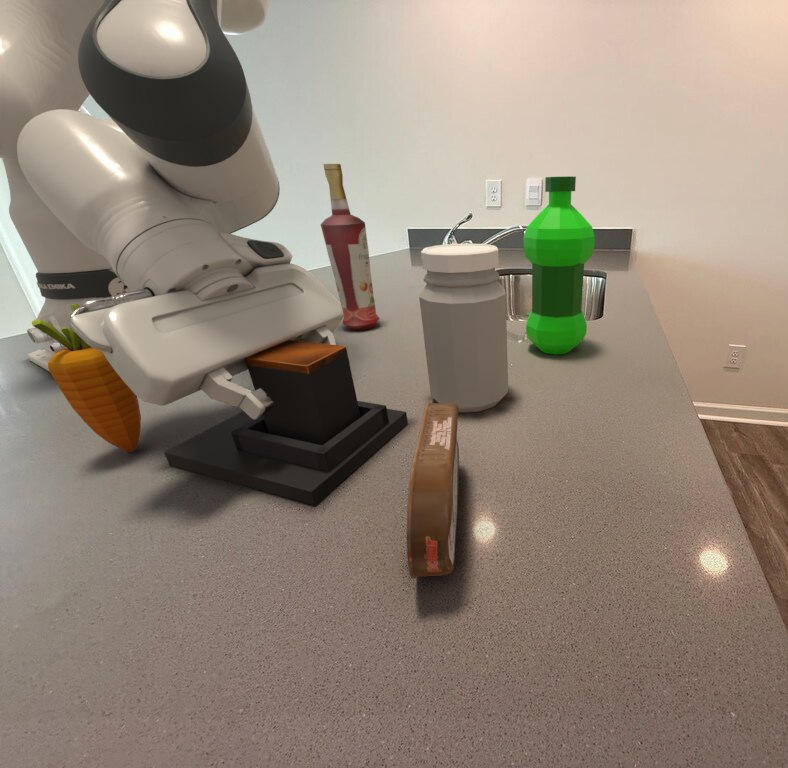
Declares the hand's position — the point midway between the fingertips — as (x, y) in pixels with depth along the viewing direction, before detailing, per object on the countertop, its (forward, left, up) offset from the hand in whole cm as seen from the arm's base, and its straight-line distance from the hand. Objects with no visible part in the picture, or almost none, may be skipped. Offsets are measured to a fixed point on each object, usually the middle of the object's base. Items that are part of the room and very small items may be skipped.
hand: (307, 388), depth 39 cm
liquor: (-23, +36, -7) cm, 44 cm away
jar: (+10, +15, -7) cm, 19 cm away
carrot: (-19, -7, -7) cm, 21 cm away
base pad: (-3, 0, -7) cm, 8 cm away
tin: (+17, -5, -7) cm, 19 cm away
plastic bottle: (+16, +35, -7) cm, 39 cm away
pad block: (0, 0, -5) cm, 5 cm away
